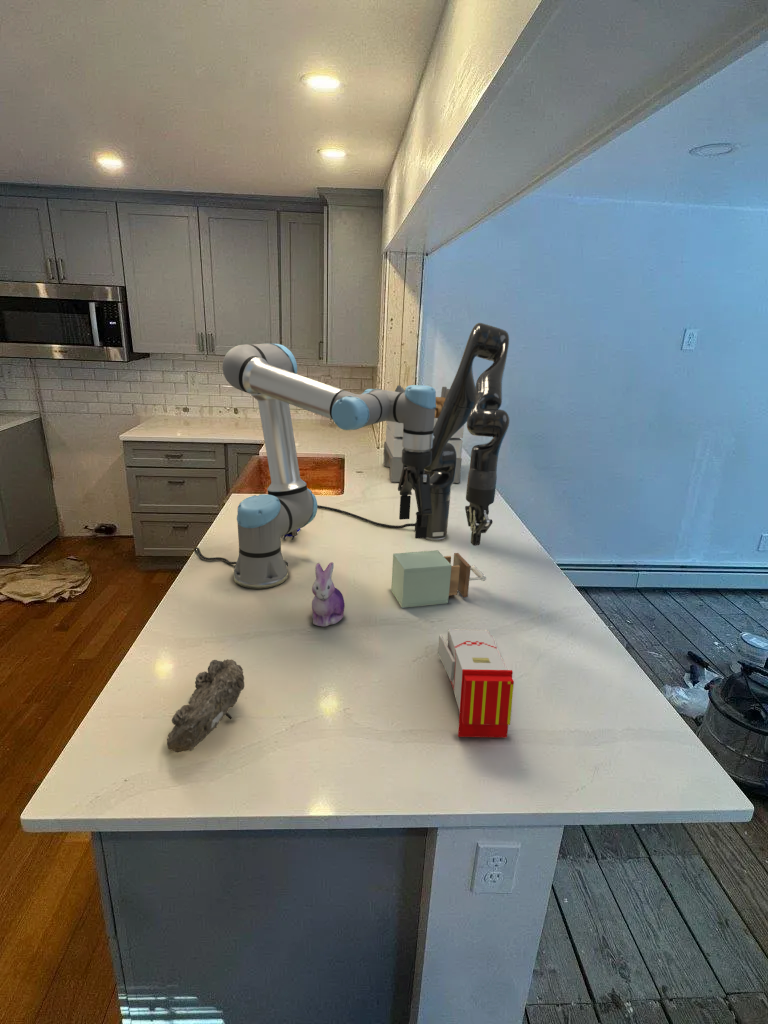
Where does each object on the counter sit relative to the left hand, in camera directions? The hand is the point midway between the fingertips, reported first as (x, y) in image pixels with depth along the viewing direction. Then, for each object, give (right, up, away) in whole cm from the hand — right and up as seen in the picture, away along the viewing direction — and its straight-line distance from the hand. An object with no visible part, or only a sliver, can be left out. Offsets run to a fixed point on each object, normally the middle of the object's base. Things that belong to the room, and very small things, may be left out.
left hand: (412, 528), depth 149 cm
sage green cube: (+2, -19, +8) cm, 21 cm away
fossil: (-40, -35, -41) cm, 67 cm away
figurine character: (-39, -4, +46) cm, 61 cm away
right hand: (+18, -5, +7) cm, 20 cm away
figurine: (-22, -23, -5) cm, 32 cm away
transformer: (+10, +23, +126) cm, 129 cm away
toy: (+11, -33, -30) cm, 46 cm away
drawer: (+11, -18, +10) cm, 23 cm away
